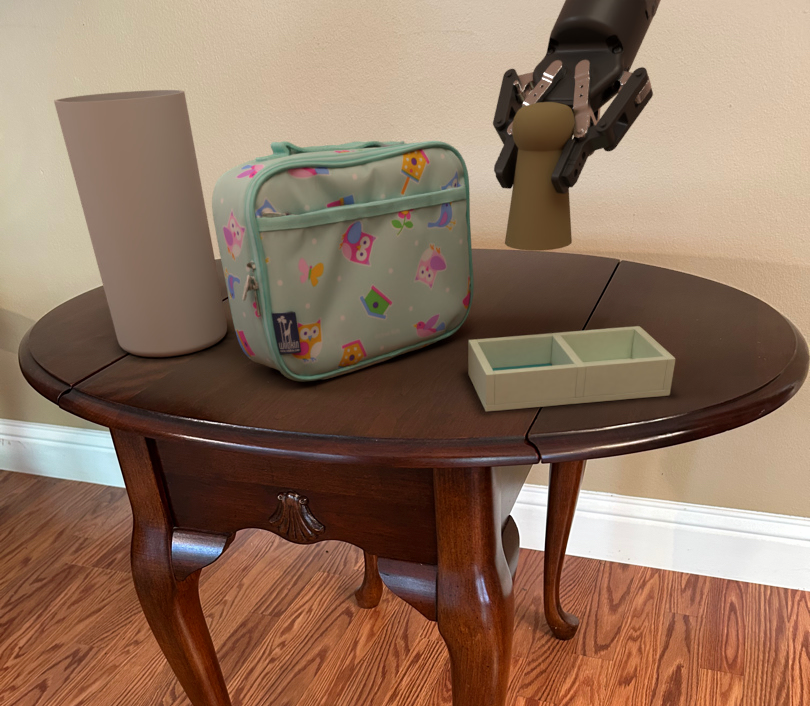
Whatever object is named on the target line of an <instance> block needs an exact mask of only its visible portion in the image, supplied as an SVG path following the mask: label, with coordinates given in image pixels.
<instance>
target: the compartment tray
mask: <svg viewBox="0 0 810 706" xmlns="http://www.w3.org/2000/svg"><path fill="white" fill-rule="evenodd" d="M467 345H468V347H467V348H468V349H467V350H468V351H467V354H468V355H467V361H468V362H467V368H468V369H467V375H468V376H469V379H470V381H471V383H472V384H473V387H474V389H475V392H476V394H477V397H478V399H479V400H480V402H481V405H482V407H483V409H484V411H485V412H497V411H508V410H509V411H510V410H521V409H530V408H542V407H554V406H564V405H576V404H589V403H599V402H610V401H623V400H632V399H633V400H634V399H643V398H644V399H645V398H655V397H666V396H667V397H668V396H671V389H672V384H673V383H672V382H673V377H674V371H675V366H676V365H675V364H676V358H675V356H673V354H671V353H670V352H669V351H668V350H667V349H666V348H664V347H663V346H662V345H661V344H660V343H659V342H658V341H656V339H654V338H653V336H651V335H650V334H649V333H648V332H647V331H646V330H644V328H642V327H641V326H640V325H636V326H623V327H610V328H599V329H598V328H597V329H587V330H575V331H574V330H573V331H562V332H561V331H560V332H553V333H552V332H549V333H538V334H537V333H536V334H527V335H513V336H503V337H489V338H488V337H487V338H477V339H468V341H467Z"/></svg>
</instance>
